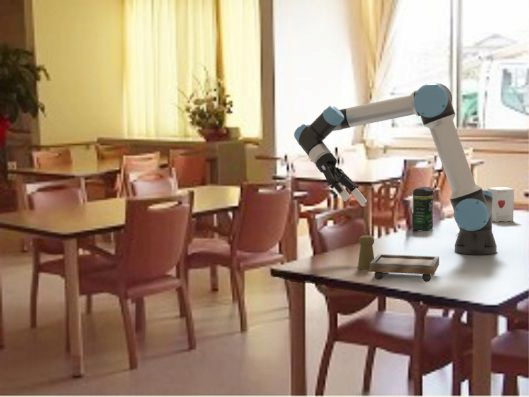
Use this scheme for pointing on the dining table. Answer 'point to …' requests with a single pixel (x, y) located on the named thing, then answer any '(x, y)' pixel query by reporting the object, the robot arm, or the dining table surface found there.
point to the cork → (366, 251)
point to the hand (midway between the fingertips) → (356, 201)
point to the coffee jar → (422, 208)
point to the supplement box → (502, 203)
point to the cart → (404, 265)
